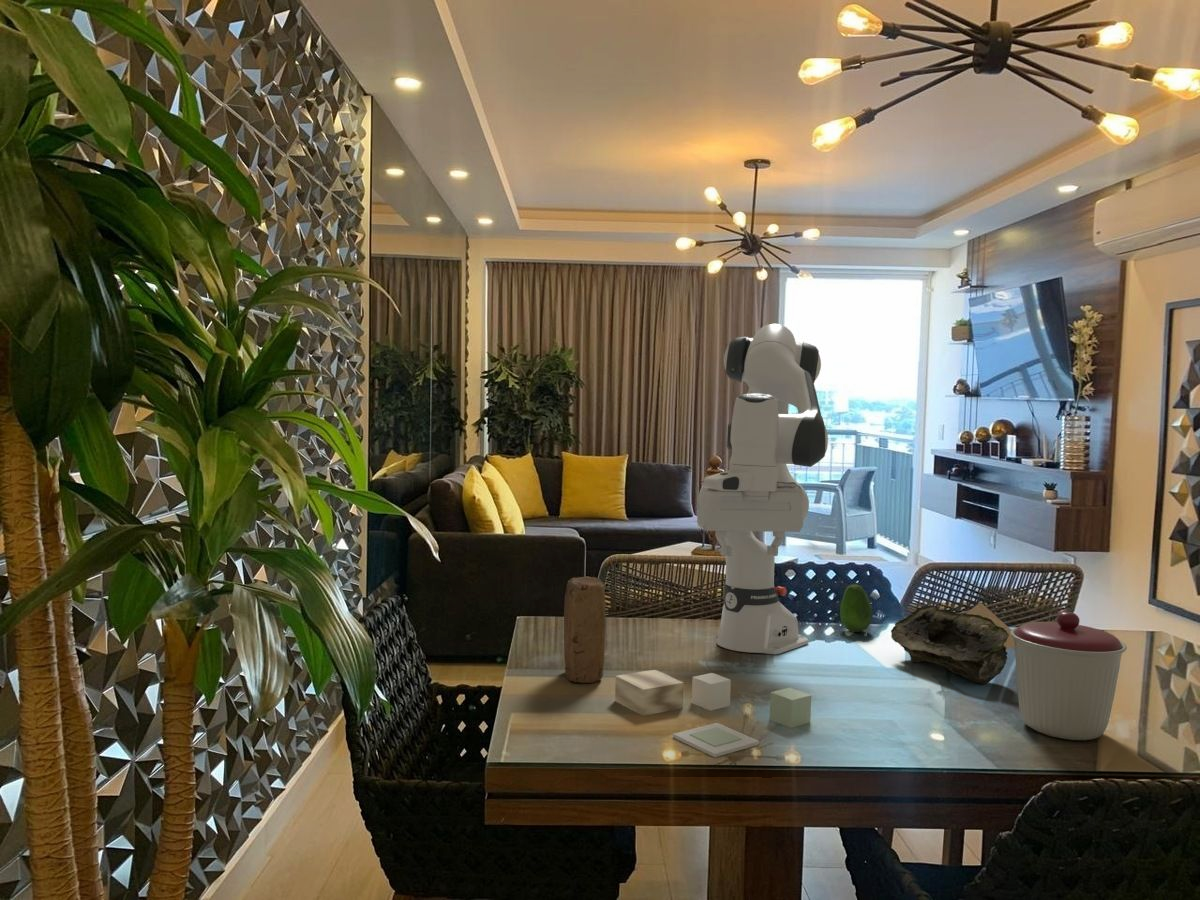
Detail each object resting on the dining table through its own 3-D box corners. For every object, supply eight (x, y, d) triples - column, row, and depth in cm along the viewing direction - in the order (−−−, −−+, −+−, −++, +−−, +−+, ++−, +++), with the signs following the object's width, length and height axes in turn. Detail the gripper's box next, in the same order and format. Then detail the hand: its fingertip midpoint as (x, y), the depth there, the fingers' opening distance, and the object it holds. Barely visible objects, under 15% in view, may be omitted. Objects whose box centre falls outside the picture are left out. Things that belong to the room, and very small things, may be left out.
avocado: (833, 628, 227) (835, 581, 226) (862, 627, 228) (864, 581, 228) (847, 636, 219) (849, 588, 218) (877, 635, 220) (879, 587, 220)
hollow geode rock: (1002, 715, 178) (1046, 658, 181) (968, 675, 175) (1014, 618, 177) (910, 670, 205) (949, 622, 207) (878, 635, 201) (919, 586, 204)
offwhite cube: (711, 698, 169) (712, 672, 169) (729, 706, 165) (730, 679, 165) (691, 703, 166) (692, 676, 166) (710, 711, 162) (710, 684, 162)
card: (716, 726, 155) (716, 721, 154) (759, 744, 146) (759, 739, 146) (672, 737, 149) (673, 732, 149) (714, 757, 141) (714, 752, 141)
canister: (986, 712, 166) (992, 600, 164) (1080, 712, 167) (1086, 601, 166) (1041, 750, 148) (1048, 624, 146) (1145, 750, 149) (1153, 625, 148)
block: (605, 684, 176) (608, 584, 175) (567, 685, 174) (570, 584, 173) (595, 668, 186) (598, 573, 185) (560, 669, 185) (562, 574, 184)
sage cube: (788, 714, 162) (789, 687, 161) (810, 723, 158) (811, 695, 157) (769, 719, 159) (770, 692, 158) (791, 728, 155) (792, 700, 154)
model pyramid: (928, 641, 218) (930, 600, 218) (961, 630, 230) (963, 592, 229) (996, 656, 206) (998, 613, 205) (1027, 644, 218) (1029, 604, 217)
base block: (654, 695, 171) (655, 669, 171) (682, 709, 163) (683, 682, 163) (614, 702, 166) (615, 675, 166) (642, 717, 159) (643, 689, 158)
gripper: (794, 481, 171) (791, 553, 171) (695, 478, 165) (692, 553, 165) (811, 483, 164) (808, 558, 165) (709, 480, 159) (705, 558, 159)
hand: (749, 555), depth 165 cm, fingers open, 8 cm apart
